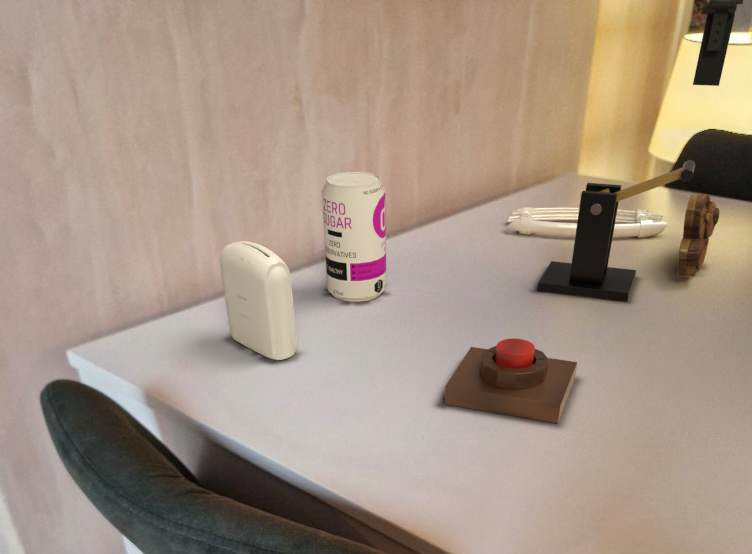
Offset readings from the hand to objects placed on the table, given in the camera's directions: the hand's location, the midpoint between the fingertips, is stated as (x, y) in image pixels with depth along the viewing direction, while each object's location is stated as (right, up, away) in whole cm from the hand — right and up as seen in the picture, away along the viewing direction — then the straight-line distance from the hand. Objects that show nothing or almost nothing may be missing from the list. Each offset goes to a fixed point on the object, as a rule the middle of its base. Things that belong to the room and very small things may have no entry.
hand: (708, 77), depth 88 cm
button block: (-24, -37, -5) cm, 45 cm away
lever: (-4, -10, +10) cm, 14 cm away
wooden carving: (+7, -15, +23) cm, 28 cm away
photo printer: (-52, -30, +5) cm, 60 cm away
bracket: (-9, -18, +19) cm, 28 cm away
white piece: (-4, -4, +38) cm, 38 cm away
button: (-24, -34, -7) cm, 43 cm away
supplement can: (-41, -20, +19) cm, 49 cm away
